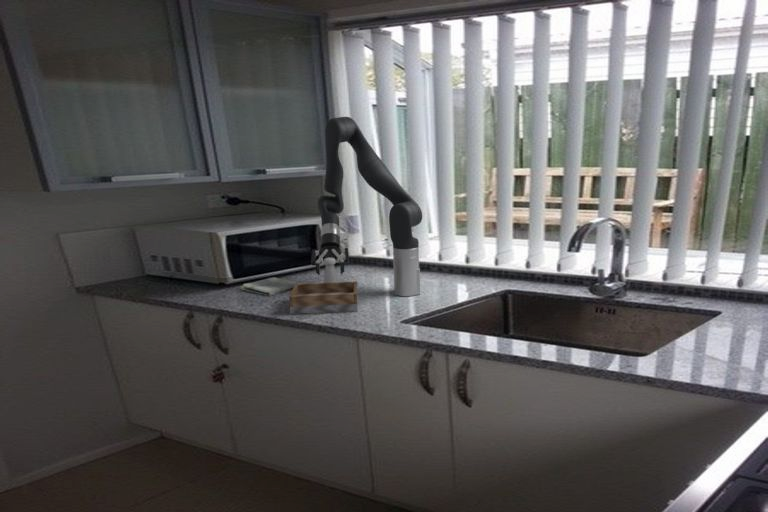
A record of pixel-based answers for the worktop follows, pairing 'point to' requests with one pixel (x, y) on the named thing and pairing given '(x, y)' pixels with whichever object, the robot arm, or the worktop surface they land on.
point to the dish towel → (269, 286)
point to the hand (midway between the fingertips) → (330, 273)
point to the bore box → (324, 297)
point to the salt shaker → (329, 271)
